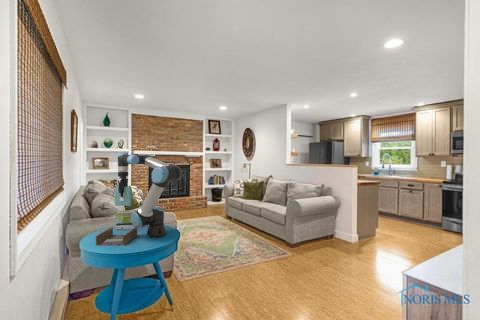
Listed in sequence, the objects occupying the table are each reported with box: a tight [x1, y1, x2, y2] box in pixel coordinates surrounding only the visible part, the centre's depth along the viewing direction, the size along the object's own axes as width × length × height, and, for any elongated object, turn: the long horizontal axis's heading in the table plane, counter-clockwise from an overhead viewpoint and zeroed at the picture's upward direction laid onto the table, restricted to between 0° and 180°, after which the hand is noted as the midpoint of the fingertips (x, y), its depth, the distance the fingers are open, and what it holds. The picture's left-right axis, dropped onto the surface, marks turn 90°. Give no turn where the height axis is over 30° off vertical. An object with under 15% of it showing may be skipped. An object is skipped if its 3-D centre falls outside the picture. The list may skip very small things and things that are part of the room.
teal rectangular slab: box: [114, 186, 133, 207], centre depth 196 cm, size 12×3×15 cm, turn 92°
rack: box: [95, 227, 138, 247], centre depth 180 cm, size 20×20×8 cm
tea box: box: [115, 209, 137, 230], centre depth 216 cm, size 15×10×15 cm
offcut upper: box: [103, 239, 123, 244], centre depth 174 cm, size 12×5×2 cm, turn 98°
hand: (123, 200), depth 196 cm, fingers closed on teal rectangular slab, 3 cm apart
